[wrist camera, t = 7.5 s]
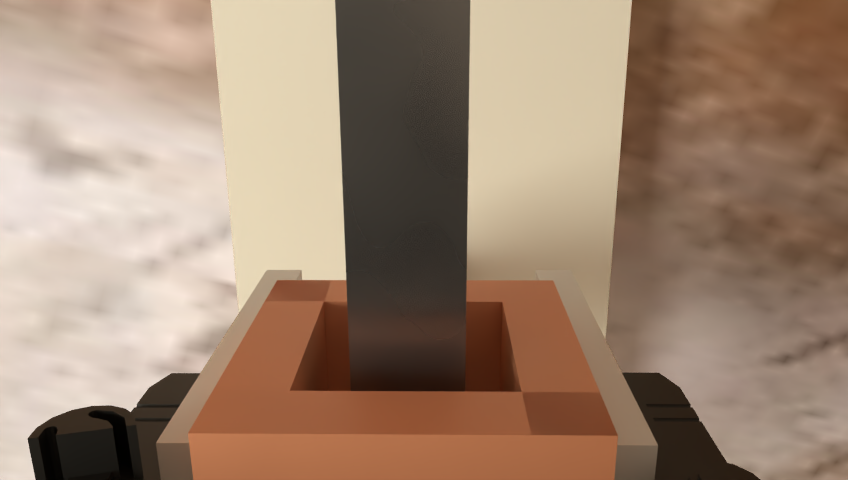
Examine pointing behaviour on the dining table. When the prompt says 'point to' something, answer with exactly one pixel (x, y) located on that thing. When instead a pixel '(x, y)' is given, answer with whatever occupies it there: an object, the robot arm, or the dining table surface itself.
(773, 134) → the dining table surface
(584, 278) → the hole board
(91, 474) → the robot arm
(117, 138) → the dining table surface
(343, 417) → the slider sleeve
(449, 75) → the grey slider rail frame
